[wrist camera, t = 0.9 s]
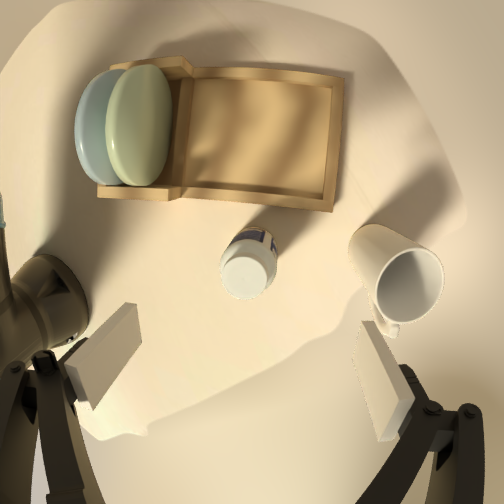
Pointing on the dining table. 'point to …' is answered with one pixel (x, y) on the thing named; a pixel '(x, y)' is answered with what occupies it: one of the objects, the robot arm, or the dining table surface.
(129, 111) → the plate sage
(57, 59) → the dining table surface
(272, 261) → the pill bottle
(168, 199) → the dish rack
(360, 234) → the mug
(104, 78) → the plate blue
